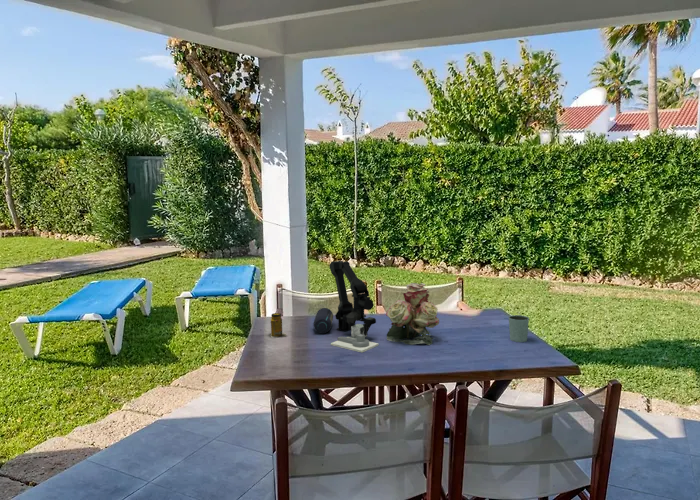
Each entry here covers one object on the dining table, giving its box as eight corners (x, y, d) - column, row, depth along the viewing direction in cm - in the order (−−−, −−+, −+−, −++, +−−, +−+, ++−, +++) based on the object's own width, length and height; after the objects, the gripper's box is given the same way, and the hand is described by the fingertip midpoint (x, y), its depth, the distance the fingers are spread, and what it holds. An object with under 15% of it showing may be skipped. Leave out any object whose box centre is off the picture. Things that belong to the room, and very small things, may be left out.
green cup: (529, 343, 274) (530, 320, 272) (508, 342, 276) (509, 319, 274) (526, 337, 284) (527, 315, 282) (507, 336, 286) (507, 314, 284)
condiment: (270, 334, 295) (269, 312, 293) (285, 332, 297) (284, 311, 295) (271, 338, 288) (270, 316, 286) (287, 336, 290) (286, 315, 288)
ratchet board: (330, 345, 275) (330, 333, 274) (347, 338, 285) (347, 327, 285) (361, 352, 262) (361, 340, 261) (378, 345, 273) (378, 334, 272)
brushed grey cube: (351, 337, 288) (351, 326, 287) (358, 334, 292) (358, 323, 292) (360, 339, 284) (360, 328, 283) (366, 336, 289) (366, 325, 288)
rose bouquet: (381, 342, 277) (381, 286, 273) (402, 328, 303) (402, 276, 299) (428, 349, 266) (429, 290, 262) (446, 334, 291) (447, 280, 287)
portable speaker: (331, 335, 292) (331, 317, 291) (313, 335, 292) (312, 317, 291) (333, 322, 317) (333, 306, 315) (316, 322, 317) (316, 306, 316)
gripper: (335, 306, 285) (336, 335, 288) (363, 311, 274) (364, 341, 276) (348, 302, 294) (349, 330, 296) (376, 307, 283) (376, 336, 285)
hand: (359, 334), depth 288 cm, fingers open, 8 cm apart
